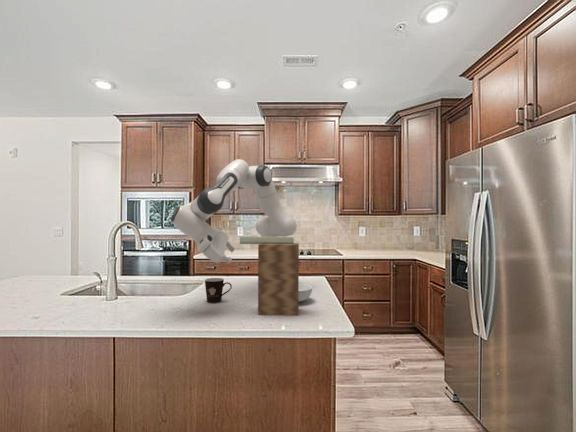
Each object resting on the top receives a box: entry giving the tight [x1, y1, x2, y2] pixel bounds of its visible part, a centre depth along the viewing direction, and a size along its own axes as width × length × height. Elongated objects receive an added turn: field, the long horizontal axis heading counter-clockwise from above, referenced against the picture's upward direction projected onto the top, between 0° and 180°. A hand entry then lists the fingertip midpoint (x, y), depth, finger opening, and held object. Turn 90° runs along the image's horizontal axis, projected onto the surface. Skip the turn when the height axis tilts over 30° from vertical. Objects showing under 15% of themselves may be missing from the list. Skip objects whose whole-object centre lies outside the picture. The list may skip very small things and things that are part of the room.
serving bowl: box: [298, 282, 313, 303], centre depth 165 cm, size 21×21×7 cm
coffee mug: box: [204, 277, 233, 304], centre depth 162 cm, size 12×9×10 cm
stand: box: [257, 242, 300, 316], centre depth 146 cm, size 16×10×28 cm, turn 87°
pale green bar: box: [239, 235, 295, 245], centre depth 146 cm, size 22×4×3 cm, turn 87°
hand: (232, 255), depth 150 cm, fingers open, 8 cm apart
